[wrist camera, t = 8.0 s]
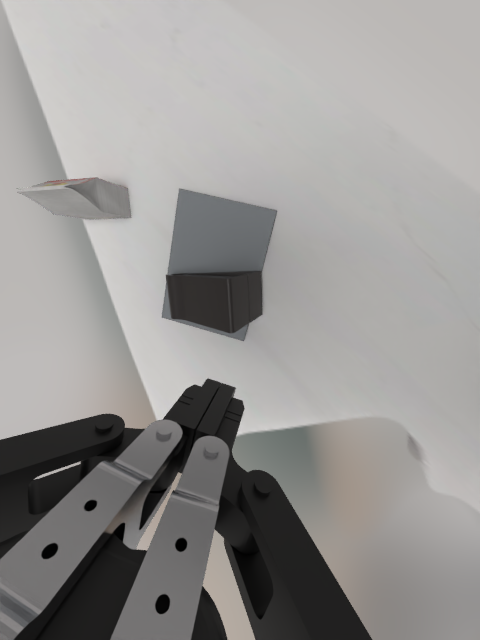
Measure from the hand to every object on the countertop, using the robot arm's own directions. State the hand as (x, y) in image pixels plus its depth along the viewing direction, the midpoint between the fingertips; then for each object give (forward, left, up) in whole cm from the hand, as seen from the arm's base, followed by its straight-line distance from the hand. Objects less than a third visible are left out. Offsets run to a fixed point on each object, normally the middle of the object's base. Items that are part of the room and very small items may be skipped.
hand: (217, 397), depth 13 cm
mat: (+8, -3, -24) cm, 25 cm away
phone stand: (+1, -1, -19) cm, 19 cm away
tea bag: (+25, -8, -24) cm, 35 cm away
